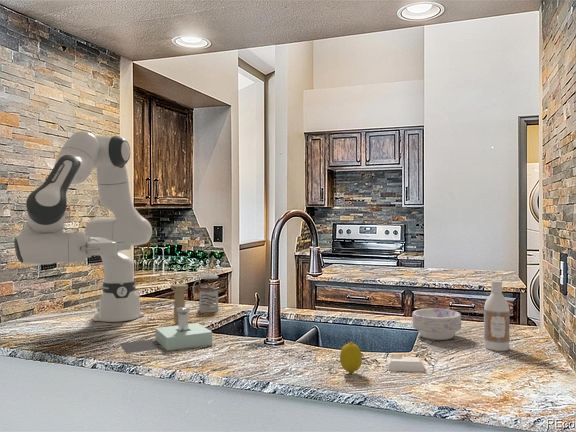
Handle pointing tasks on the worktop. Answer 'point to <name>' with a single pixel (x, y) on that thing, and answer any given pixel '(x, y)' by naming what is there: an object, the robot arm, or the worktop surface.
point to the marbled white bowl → (436, 323)
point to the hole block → (183, 336)
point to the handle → (178, 298)
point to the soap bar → (404, 364)
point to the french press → (208, 293)
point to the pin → (183, 318)
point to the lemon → (350, 357)
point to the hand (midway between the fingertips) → (127, 245)
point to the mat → (139, 346)
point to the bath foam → (496, 319)
